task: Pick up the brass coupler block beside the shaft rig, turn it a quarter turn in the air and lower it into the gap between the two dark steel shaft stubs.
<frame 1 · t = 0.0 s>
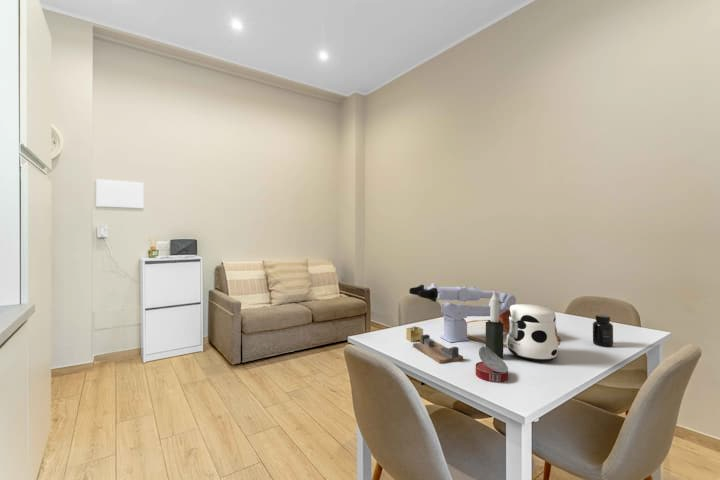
hand: (414, 292, 137), 22 cm above the table, tool horizontal, fingers open, 7 cm apart
coupler: (414, 340, 143), on the table
shaft rig: (436, 352, 127), on the table
canned food: (491, 377, 107), on the table
supplement bottle: (602, 345, 137), on the table
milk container: (531, 356, 124), on the table
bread: (522, 334, 153), on the table
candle: (494, 357, 123), on the table
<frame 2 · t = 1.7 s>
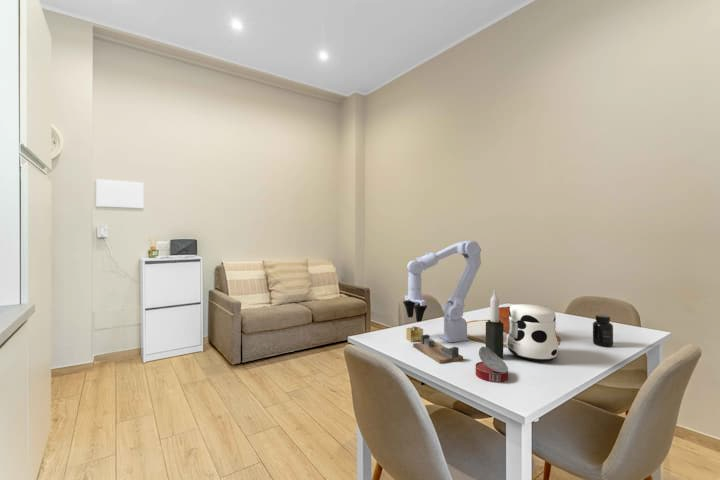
hand: (414, 319, 143), 9 cm above the table, tool pointing down, fingers open, 7 cm apart
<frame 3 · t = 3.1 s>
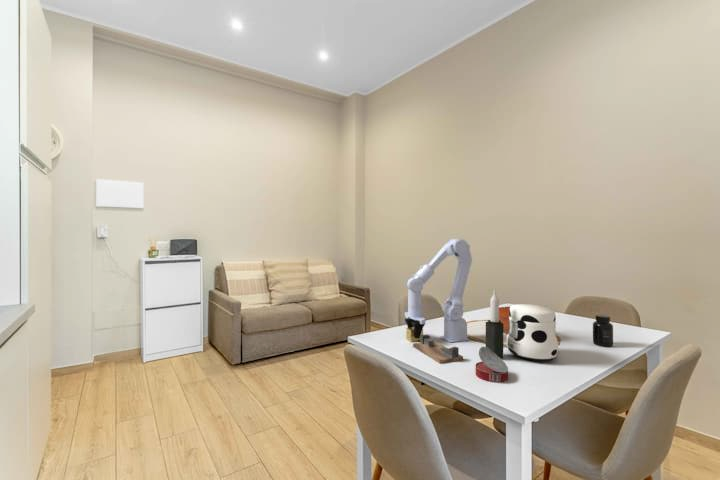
hand: (414, 336, 143), 1 cm above the table, tool pointing down, fingers closed on coupler, 4 cm apart
coupler: (414, 339, 143), on the table, touching gripper
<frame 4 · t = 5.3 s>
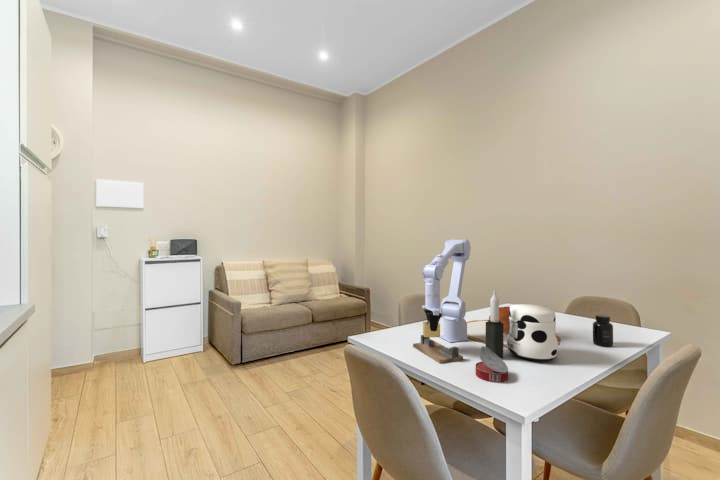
hand: (432, 329, 130), 8 cm above the table, tool pointing down, fingers closed on coupler, 4 cm apart
coupler: (431, 335, 130), point 6 cm above the table, touching gripper
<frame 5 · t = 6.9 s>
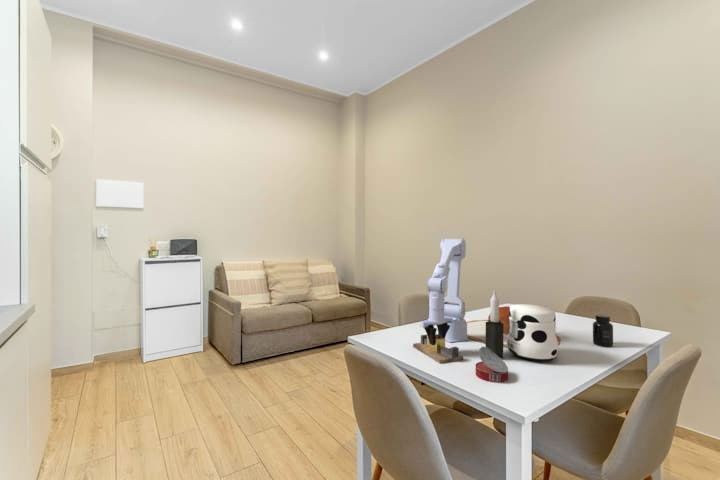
hand: (436, 343, 127), 4 cm above the table, tool pointing down, fingers closed on coupler, 4 cm apart
coupler: (435, 349, 128), point 1 cm above the table, touching gripper, shaft rig
when the fingers open (4 cm above the table, at t = 7.7 s): coupler stays where it is, resting on shaft rig.
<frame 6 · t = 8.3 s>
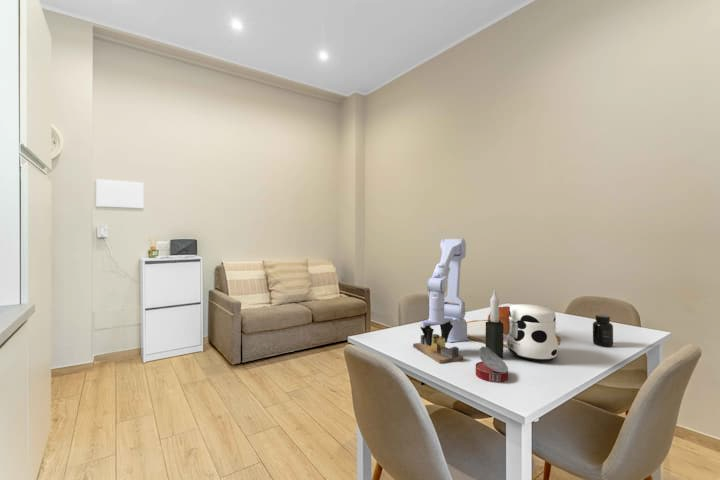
hand: (436, 343, 127), 4 cm above the table, tool pointing down, fingers open, 7 cm apart
coupler: (435, 349, 128), point 1 cm above the table, touching shaft rig
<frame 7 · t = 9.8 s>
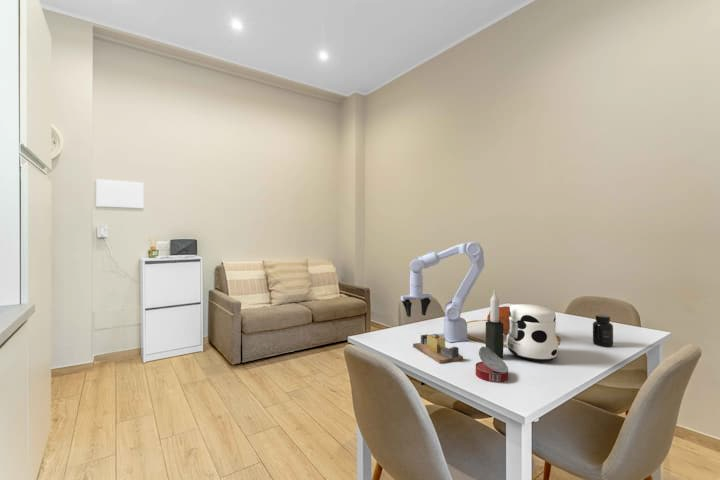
hand: (416, 315, 148), 9 cm above the table, tool pointing down, fingers open, 7 cm apart
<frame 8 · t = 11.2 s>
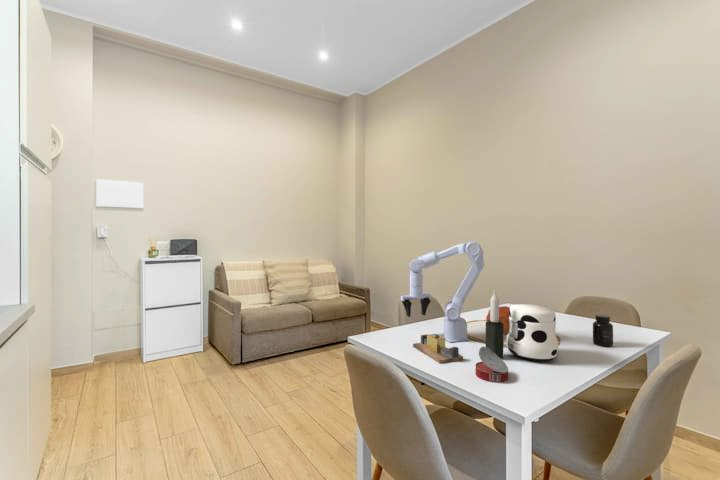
hand: (416, 315, 148), 9 cm above the table, tool pointing down, fingers open, 7 cm apart
at the end: coupler 0.4 cm off-centre on the shaft rig, point 1.2 cm above the shaft rig's base; coupler tilted 0°; the gripper is holding nothing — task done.
